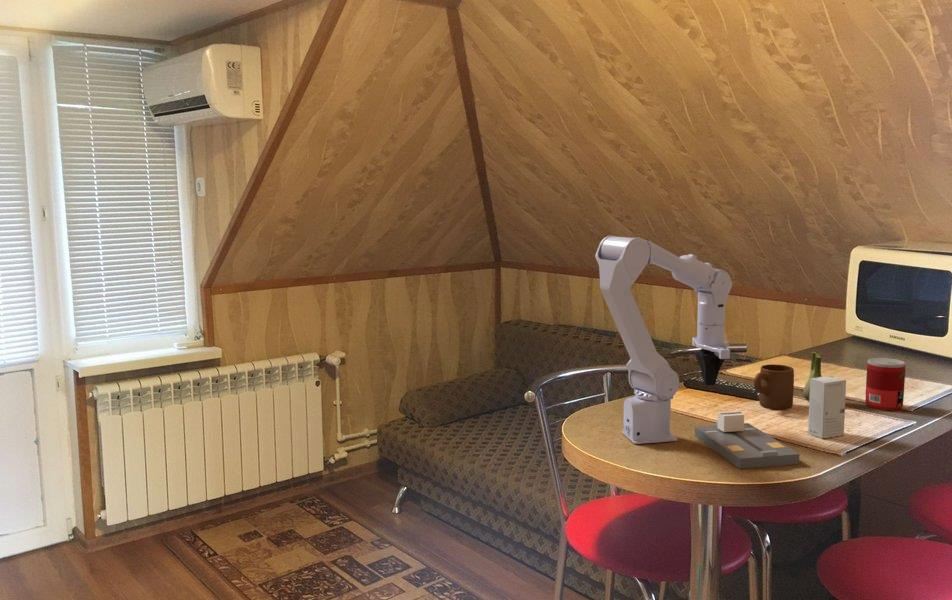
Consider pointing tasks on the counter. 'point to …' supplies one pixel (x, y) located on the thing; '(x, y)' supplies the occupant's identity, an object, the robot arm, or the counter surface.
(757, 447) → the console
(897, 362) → the canned food
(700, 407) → the counter surface
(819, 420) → the skincare box
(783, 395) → the mug
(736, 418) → the fader knob
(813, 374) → the fennel bulb
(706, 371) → the robot arm
